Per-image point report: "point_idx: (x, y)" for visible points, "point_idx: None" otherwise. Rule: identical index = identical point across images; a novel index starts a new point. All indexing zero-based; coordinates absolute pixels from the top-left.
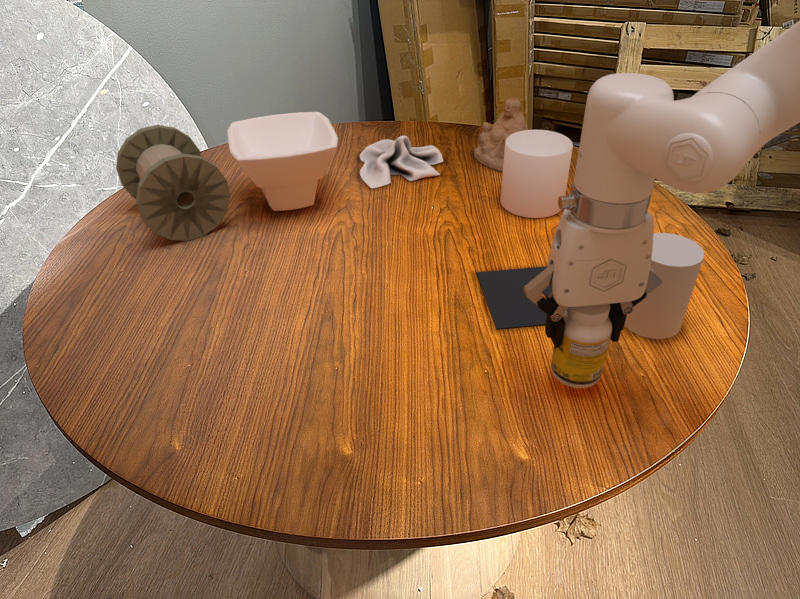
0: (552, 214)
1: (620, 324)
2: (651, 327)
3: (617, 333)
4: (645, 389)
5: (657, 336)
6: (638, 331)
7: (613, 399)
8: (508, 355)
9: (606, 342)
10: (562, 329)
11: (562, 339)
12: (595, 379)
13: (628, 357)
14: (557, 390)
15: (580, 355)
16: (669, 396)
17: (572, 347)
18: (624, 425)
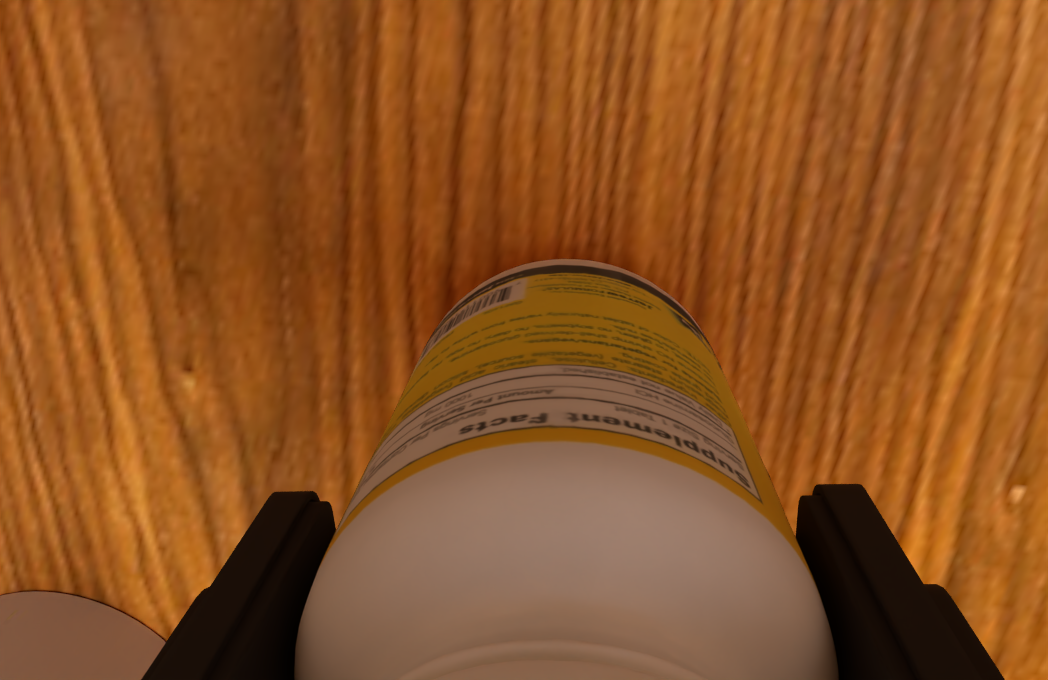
0: None
1: (206, 628)
2: (63, 655)
3: (265, 547)
4: (192, 278)
5: (55, 605)
6: (141, 645)
7: (382, 223)
8: None
9: (398, 459)
10: (908, 637)
11: (828, 541)
12: (487, 288)
13: (230, 498)
14: None
15: (648, 381)
16: (76, 216)
17: (731, 451)
18: (373, 18)
